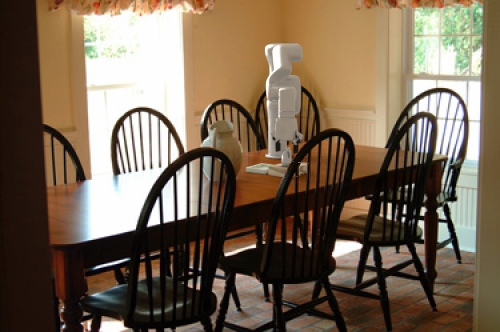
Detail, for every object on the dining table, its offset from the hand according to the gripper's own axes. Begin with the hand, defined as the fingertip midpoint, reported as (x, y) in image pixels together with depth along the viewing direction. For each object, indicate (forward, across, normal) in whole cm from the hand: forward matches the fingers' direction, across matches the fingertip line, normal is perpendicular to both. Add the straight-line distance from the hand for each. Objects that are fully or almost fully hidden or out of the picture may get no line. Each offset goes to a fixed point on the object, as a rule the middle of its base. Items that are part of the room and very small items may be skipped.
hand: (286, 152), depth 340 cm
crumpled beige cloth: (+10, 0, +2) cm, 11 cm away
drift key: (+10, 0, +11) cm, 15 cm away
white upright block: (+10, 0, 0) cm, 11 cm away
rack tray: (+10, -14, +2) cm, 18 cm away
